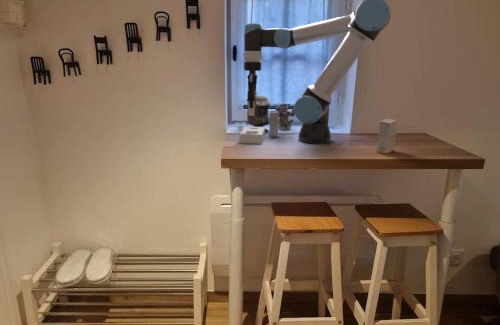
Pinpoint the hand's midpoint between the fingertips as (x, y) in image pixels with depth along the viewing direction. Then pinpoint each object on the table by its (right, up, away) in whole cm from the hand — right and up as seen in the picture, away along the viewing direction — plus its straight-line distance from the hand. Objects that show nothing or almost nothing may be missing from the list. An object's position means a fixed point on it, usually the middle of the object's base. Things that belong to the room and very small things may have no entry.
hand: (251, 114), depth 167 cm
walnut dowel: (0, -3, +1) cm, 4 cm away
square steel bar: (+11, -9, +14) cm, 20 cm away
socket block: (+1, -10, +8) cm, 13 cm away
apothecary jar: (+4, -5, +27) cm, 28 cm away
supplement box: (+55, -17, -14) cm, 60 cm away
